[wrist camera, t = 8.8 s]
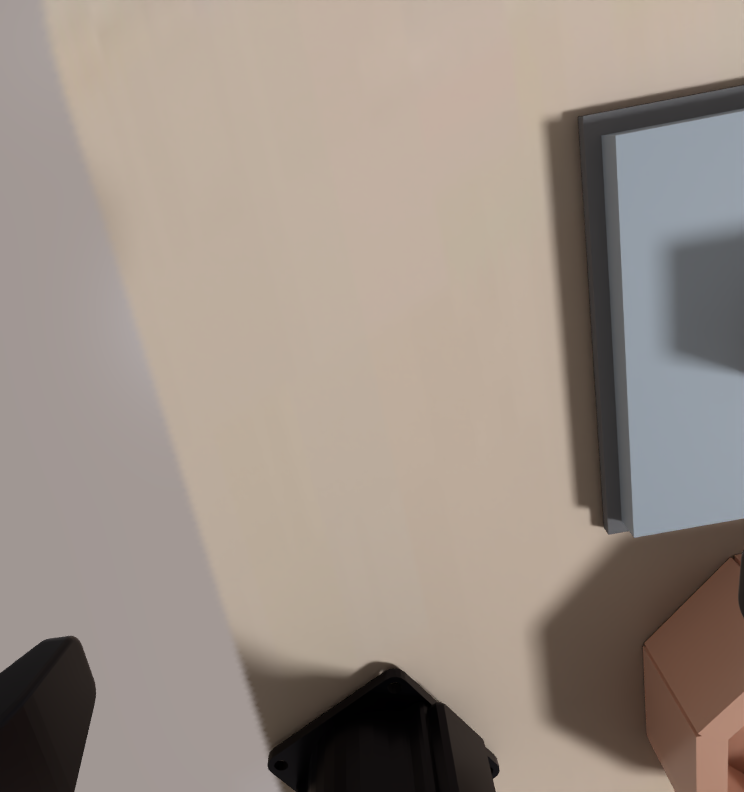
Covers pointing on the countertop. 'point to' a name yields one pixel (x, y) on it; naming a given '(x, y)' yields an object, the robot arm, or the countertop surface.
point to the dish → (699, 688)
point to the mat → (598, 258)
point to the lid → (678, 319)
